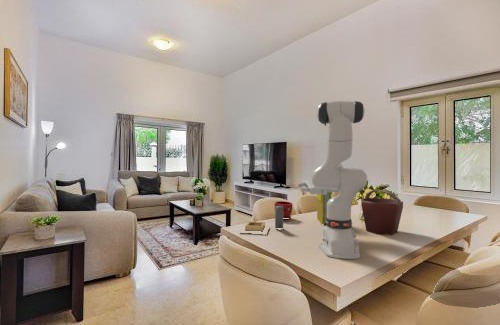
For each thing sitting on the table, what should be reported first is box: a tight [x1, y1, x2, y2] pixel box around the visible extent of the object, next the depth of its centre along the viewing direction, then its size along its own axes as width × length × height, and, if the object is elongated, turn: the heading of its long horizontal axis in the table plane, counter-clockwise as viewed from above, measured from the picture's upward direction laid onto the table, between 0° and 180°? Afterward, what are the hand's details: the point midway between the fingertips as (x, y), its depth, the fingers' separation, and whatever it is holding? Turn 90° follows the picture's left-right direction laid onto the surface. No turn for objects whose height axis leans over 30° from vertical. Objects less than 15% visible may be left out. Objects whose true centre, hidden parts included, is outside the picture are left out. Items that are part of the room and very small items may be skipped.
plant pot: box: [274, 200, 293, 219], centre depth 183 cm, size 13×13×12 cm
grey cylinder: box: [274, 205, 284, 229], centre depth 155 cm, size 5×5×14 cm
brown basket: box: [360, 189, 404, 236], centre depth 150 cm, size 24×22×25 cm
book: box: [316, 192, 333, 225], centre depth 174 cm, size 17×7×25 cm, turn 179°
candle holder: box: [244, 221, 266, 232], centre depth 151 cm, size 16×16×4 cm
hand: (299, 187), depth 152 cm, fingers open, 8 cm apart
